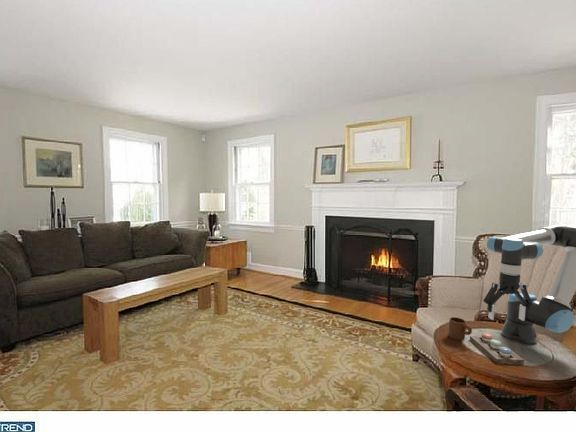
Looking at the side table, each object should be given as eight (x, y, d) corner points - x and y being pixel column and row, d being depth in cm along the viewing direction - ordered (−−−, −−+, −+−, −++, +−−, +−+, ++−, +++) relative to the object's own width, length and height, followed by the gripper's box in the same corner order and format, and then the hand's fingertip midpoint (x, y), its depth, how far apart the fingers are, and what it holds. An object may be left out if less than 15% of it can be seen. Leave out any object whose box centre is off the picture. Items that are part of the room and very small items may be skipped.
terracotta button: (488, 338, 163) (488, 333, 163) (493, 342, 159) (494, 337, 159) (479, 338, 164) (480, 332, 163) (484, 342, 159) (485, 336, 159)
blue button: (506, 353, 150) (506, 346, 149) (512, 358, 145) (513, 351, 145) (496, 352, 150) (497, 346, 149) (502, 357, 145) (503, 351, 145)
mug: (475, 343, 162) (477, 325, 161) (464, 346, 159) (466, 327, 158) (455, 333, 173) (456, 316, 172) (444, 335, 170) (446, 318, 169)
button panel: (493, 340, 165) (493, 336, 165) (523, 364, 143) (524, 359, 143) (469, 339, 166) (470, 336, 165) (496, 363, 144) (496, 358, 144)
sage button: (497, 345, 157) (497, 339, 156) (502, 350, 152) (503, 344, 152) (487, 345, 157) (488, 339, 156) (493, 349, 152) (493, 343, 152)
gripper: (532, 271, 147) (528, 316, 150) (477, 270, 148) (473, 314, 150) (545, 276, 140) (540, 323, 142) (486, 274, 141) (482, 321, 143)
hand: (506, 319), depth 146 cm, fingers open, 13 cm apart
